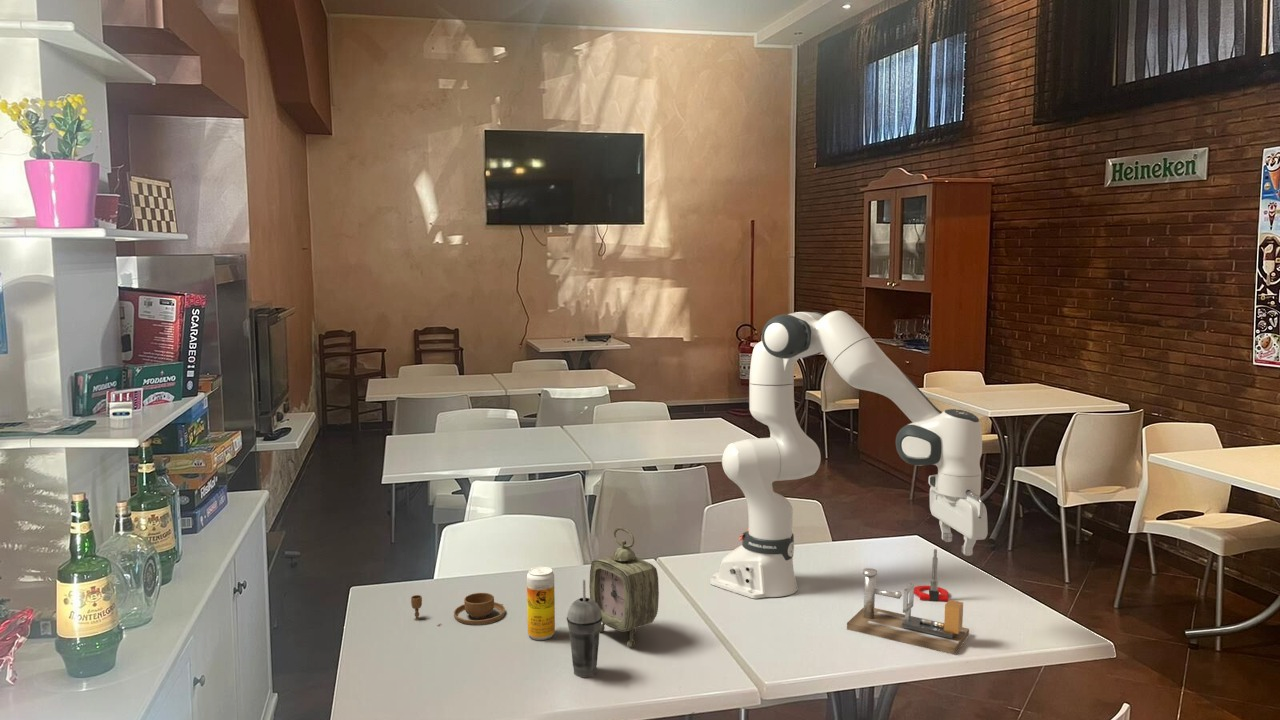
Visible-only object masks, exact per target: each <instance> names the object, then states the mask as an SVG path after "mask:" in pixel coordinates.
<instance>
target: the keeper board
mask: <svg viewBox="0 0 1280 720" xmlns="http://www.w3.org/2000/svg"><path fill="white" fill-rule="evenodd" d="M863 616H864V606H863V607H862V608H861V609H860V610H859V611H858V612H857V613H856V614H855V615H854V616H852V617H851V619H849V620H848V621H847V622H846V630H848V631H853V632H858V633H861V634H865V635H870V636H874V637H878V638H883V639H887V640H890V641H896V642H900V643H903V644H908V645H912V646H917V647H920V648H925V649H929V650H932V651H938V652H941V651H942V652H941V653H945V652H946V654H949V653H950V655H956V653H958V651H959V650H960V648H961V647H962V645H963V644H964V643H963V642H965V641H966V640H967V639H968V637H969V636H970V628H967V627H963V626H962V630H961V631H960V632H959V634H956V635H955V636H954V637H953V639H951V638H946V637H942V636H938V635H933V634H929V633H925V632H920V631H916V630H911V629H907V628H903V627H902V623H903V622H904V621H905V613H904V614H903V613H900V612H893V611H890V610H886V609H881V608H877V607H874V618H873V619H866V618H864V617H863ZM916 617H917V618H919V617H918V616H916ZM921 618H922V617H921ZM922 619H924V618H922ZM931 621H933V620H932V619H931ZM939 622H940V621H939ZM940 623H942V622H940ZM958 649H959V650H958Z"/></svg>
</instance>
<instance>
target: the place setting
mask: <svg viewBox="0 0 1280 720" xmlns="http://www.w3.org/2000/svg"><path fill="white" fill-rule="evenodd" d="M410 597H411V598H410V604H411V608H412V609H413V610H414V611H415V612H414V616H415V617H414V620H416V621H417V620H419V619H420V618H419V616H420V612H419V611H420V608H421V607H422V604H423V596H422V595H420V594H416V595H412V596H410ZM463 600H464V601H463V602H464V603H463V604H461V605H459V606H457V607H455V609H454V612H453V616H454V618H455V620H456V621H457V622H458V623H461V624H463V625H469V626H482V625H488V624H492V623H494V622H495V623H496V622H497V621H499V620H501V619H502V618H503V617H504V615H505V611H506V609H505V605H504V604H503V603H498V602H495V597H494V595H493V594H491V593H487V592H476V593H475V592H474V593H472V594H468V595H467V596H465V597H464V599H463ZM494 609H495V610H498V611H499V612H500V614H498V615H496V616H494V617H491V618H487V617H488V615H489V614H491V613H492V612H493V611H494ZM464 611H465V613H466V614H467V615H469V616H471V617H472V618H473V619H475V620H473V619H472V620H471V619H464V618H461V617H459V614H460V613H462V612H464ZM485 618H486V619H485ZM479 619H480V620H479ZM436 626H438V627H441V626H443V624H442V623H438V624H437V625H436Z"/></svg>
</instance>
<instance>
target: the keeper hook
mask: <svg viewBox="0 0 1280 720" xmlns="http://www.w3.org/2000/svg"><path fill="white" fill-rule="evenodd" d="M862 575H864V582H863V583H864V586H863V587H864V591H863V593H864V594H863V607H864V616H863V617H864V618H866V619H873V618H874V608H876V607H875V602H876V601H875V599H876V595H879V596H884V597H888V598H889V597H890V598H894V599H896V600H897V599H898V600H900V599H901V597H902V596H903V595H902V592H901V591H899V590H896V591H895V592H893V591H889V590H884V589H880V588H876V576H878V570H877V569H875V568H871V567H869V568H868V567H867V568H864V569H863V570H862Z"/></svg>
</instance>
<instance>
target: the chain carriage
mask: <svg viewBox="0 0 1280 720" xmlns="http://www.w3.org/2000/svg"><path fill="white" fill-rule="evenodd" d="M914 588H915V583H913V582H911V583H909V584H908V585H906V587H905V588H904V589H903V595H902V596H903V597H902V600H903V601H902V614H903V613H904V615H905V621H904V622H903V623H902V627H903V628H907V629H911V630H916V631H920V632H925V633H929V634H933V635H938V636H942V637H946V638H951V639H953V637H954V636H955V635H956V634H959V632H960V631H961V630H962V627H963V622H964V621H963V619H964V618H963V616H964V602H962V601H958V600H952V599H948V601H946V603H945V605H944V619H943V620H944V622H941V623H940V621H936V620H932V619H931V620H932V621H931V620H930V619H926V618H923V619H922V617H918V616H913V615H912V608H913V607H914V604H915V603H914V602H915V601H914V600H915V599H914V598H915V594H914ZM917 617H918V618H917Z"/></svg>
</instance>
